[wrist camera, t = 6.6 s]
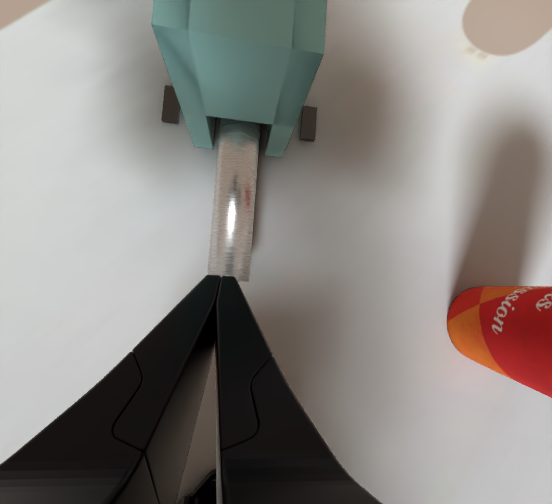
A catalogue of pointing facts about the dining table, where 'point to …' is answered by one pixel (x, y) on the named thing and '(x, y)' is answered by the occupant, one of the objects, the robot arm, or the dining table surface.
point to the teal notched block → (241, 61)
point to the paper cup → (506, 331)
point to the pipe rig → (234, 187)
